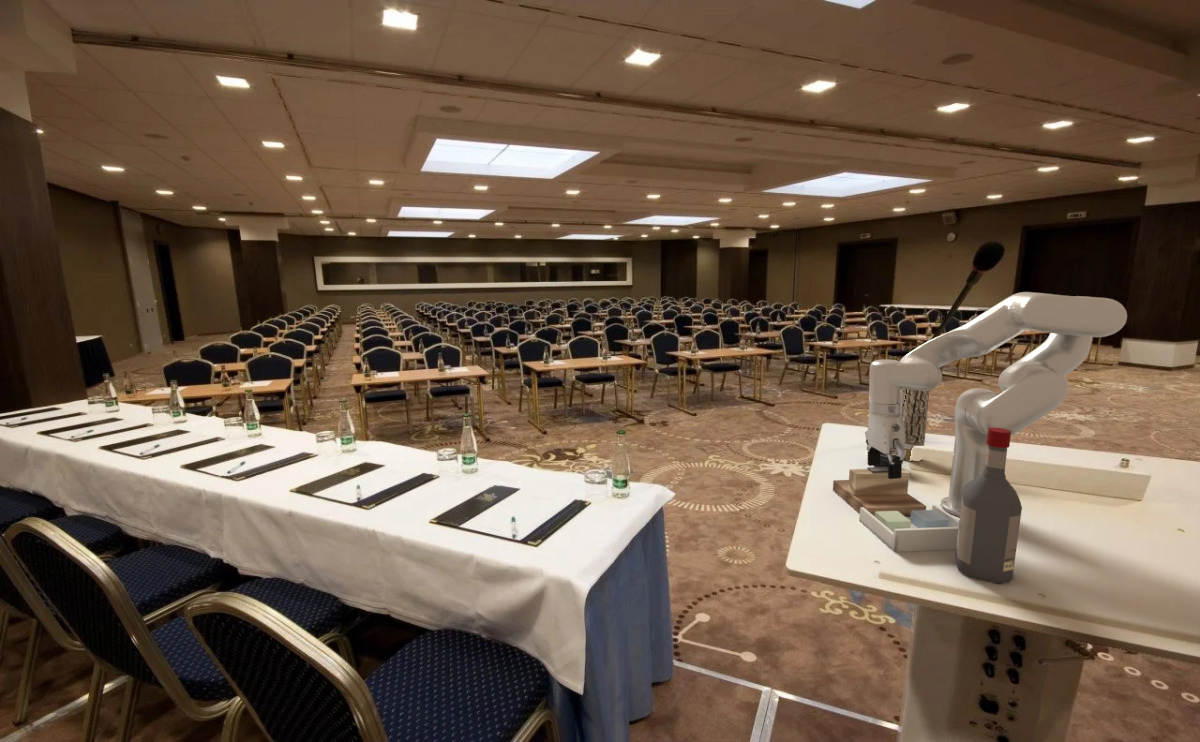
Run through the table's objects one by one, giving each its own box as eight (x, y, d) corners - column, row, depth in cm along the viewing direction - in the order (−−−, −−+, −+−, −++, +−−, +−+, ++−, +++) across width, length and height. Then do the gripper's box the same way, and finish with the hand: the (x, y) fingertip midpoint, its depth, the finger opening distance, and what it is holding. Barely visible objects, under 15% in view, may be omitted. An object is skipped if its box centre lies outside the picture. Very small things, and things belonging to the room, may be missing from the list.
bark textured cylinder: (894, 457, 176) (900, 382, 172) (907, 454, 179) (914, 380, 174) (913, 463, 170) (920, 386, 166) (927, 460, 173) (935, 384, 168)
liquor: (956, 575, 108) (972, 433, 103) (954, 555, 116) (969, 421, 111) (1013, 588, 104) (1033, 439, 98) (1006, 566, 112) (1025, 427, 106)
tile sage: (910, 533, 125) (911, 521, 124) (886, 534, 125) (887, 522, 124) (896, 522, 130) (897, 510, 130) (874, 523, 130) (875, 511, 129)
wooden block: (907, 494, 140) (909, 470, 139) (854, 495, 140) (856, 471, 139) (899, 489, 144) (901, 465, 142) (848, 490, 143) (849, 467, 142)
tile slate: (947, 532, 125) (948, 520, 124) (924, 532, 125) (925, 520, 124) (932, 521, 130) (933, 509, 130) (910, 522, 130) (911, 510, 130)
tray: (978, 548, 118) (980, 527, 118) (893, 551, 118) (895, 530, 117) (934, 518, 133) (936, 499, 132) (859, 520, 133) (860, 501, 132)
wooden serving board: (925, 517, 134) (926, 506, 133) (866, 519, 133) (867, 508, 133) (885, 488, 151) (885, 478, 151) (832, 490, 151) (833, 480, 150)
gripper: (920, 415, 129) (918, 482, 132) (881, 399, 146) (879, 459, 149) (889, 417, 129) (888, 485, 132) (853, 401, 146) (853, 461, 149)
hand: (883, 471), depth 140 cm, fingers open, 9 cm apart
